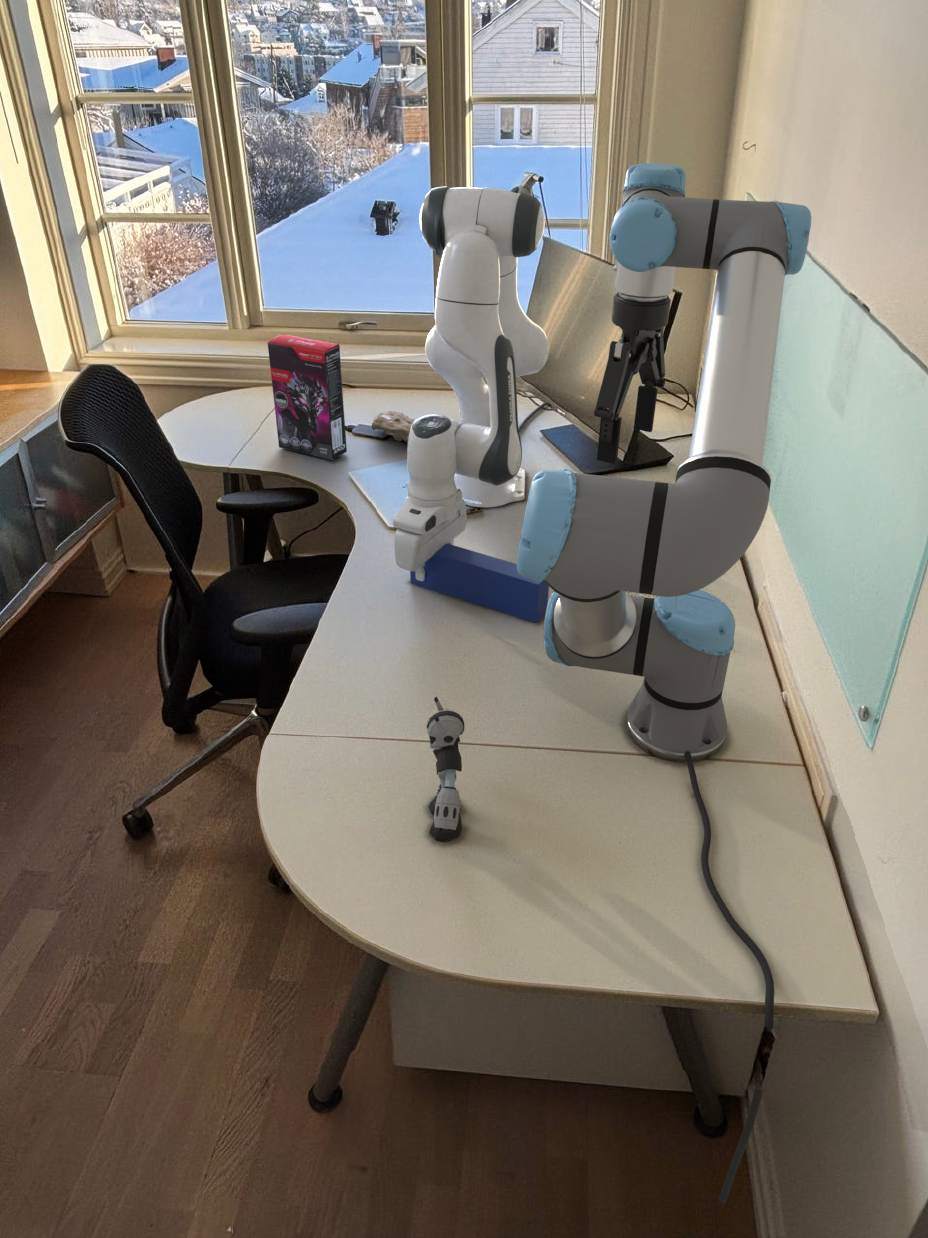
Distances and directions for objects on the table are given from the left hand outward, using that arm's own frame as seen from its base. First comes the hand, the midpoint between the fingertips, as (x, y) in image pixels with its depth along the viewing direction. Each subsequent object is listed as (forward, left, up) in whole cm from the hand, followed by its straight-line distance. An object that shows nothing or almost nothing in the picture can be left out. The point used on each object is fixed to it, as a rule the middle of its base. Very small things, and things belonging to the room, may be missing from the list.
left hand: (433, 569), depth 177 cm
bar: (+2, +9, -3) cm, 10 cm away
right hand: (+19, +35, +38) cm, 55 cm away
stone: (-65, -26, -3) cm, 70 cm away
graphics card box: (-52, -47, -3) cm, 70 cm away
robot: (+59, +20, -3) cm, 63 cm away
